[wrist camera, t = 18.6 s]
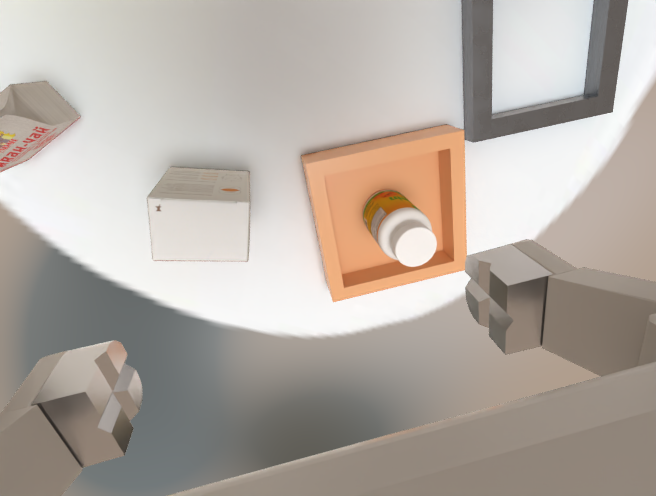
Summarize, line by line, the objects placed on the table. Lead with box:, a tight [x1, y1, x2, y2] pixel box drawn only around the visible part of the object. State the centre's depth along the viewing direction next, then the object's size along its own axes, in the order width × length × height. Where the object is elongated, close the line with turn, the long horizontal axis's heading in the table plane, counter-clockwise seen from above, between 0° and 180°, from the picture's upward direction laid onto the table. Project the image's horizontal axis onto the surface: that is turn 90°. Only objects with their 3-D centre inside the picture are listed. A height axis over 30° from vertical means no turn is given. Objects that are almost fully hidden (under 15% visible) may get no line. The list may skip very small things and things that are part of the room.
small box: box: [147, 167, 250, 262], centre depth 37 cm, size 8×6×10 cm
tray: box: [301, 124, 467, 302], centre depth 44 cm, size 16×16×4 cm
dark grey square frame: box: [462, 0, 628, 142], centre depth 40 cm, size 16×16×2 cm
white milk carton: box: [0, 81, 81, 172], centre depth 32 cm, size 4×7×10 cm, turn 124°
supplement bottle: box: [363, 190, 437, 267], centre depth 40 cm, size 5×5×10 cm
